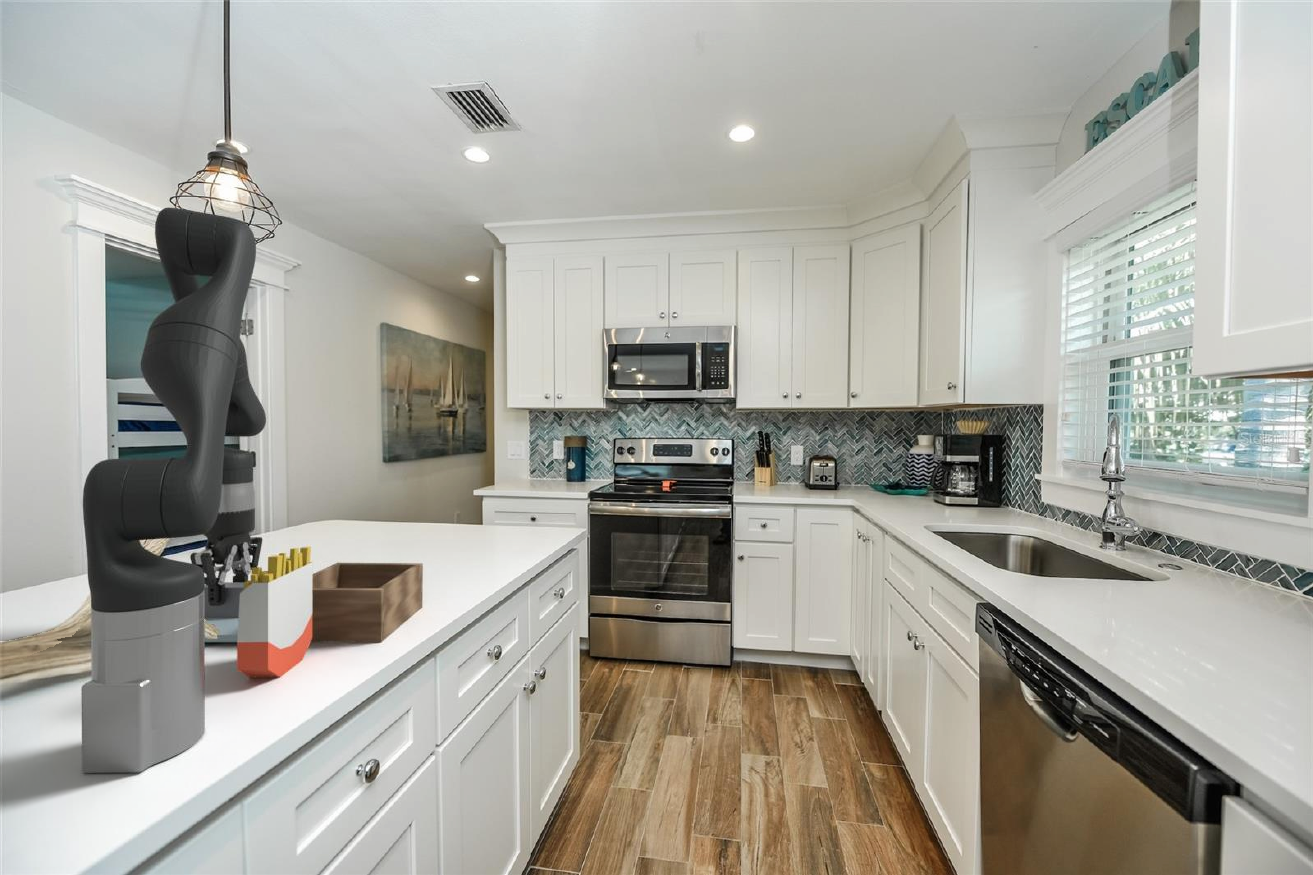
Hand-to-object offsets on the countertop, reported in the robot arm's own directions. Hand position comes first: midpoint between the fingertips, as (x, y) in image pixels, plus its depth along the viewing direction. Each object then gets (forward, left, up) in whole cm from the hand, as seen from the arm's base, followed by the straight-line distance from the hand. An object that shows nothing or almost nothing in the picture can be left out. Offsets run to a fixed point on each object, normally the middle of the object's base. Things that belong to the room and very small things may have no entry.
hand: (229, 599), depth 94 cm
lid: (0, 0, -4) cm, 4 cm away
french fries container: (-17, -20, -5) cm, 27 cm away
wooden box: (+1, -22, -5) cm, 23 cm away
